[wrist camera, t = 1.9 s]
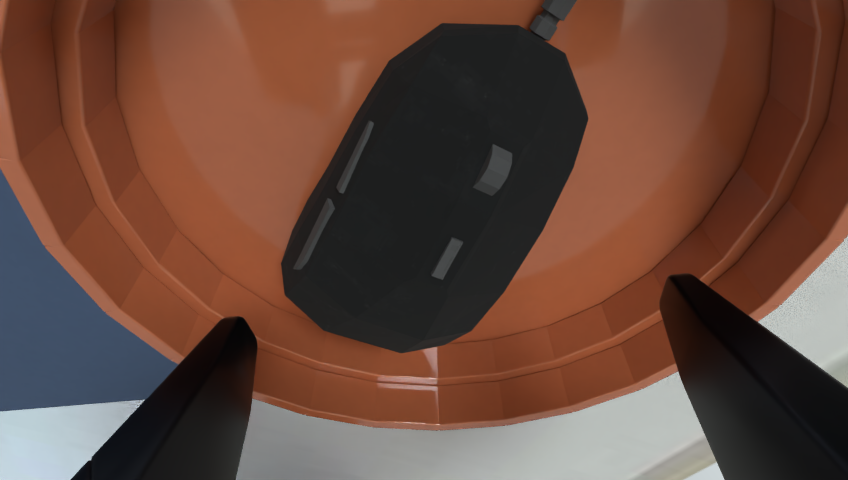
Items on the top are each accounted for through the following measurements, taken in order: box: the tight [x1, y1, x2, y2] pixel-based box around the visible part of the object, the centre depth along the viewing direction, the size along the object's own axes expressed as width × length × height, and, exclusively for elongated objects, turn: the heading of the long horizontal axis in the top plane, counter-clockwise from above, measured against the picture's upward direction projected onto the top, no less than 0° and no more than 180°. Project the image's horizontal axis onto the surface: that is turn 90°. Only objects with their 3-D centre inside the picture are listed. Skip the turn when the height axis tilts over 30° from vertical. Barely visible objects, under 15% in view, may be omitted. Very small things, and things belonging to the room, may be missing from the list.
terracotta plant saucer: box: [0, 0, 848, 431], centre depth 13 cm, size 19×19×4 cm
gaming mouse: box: [281, 0, 589, 353], centre depth 13 cm, size 6×15×4 cm, turn 152°
